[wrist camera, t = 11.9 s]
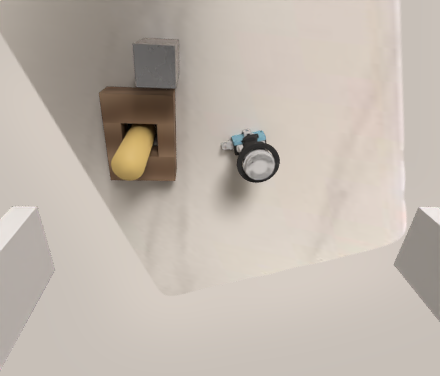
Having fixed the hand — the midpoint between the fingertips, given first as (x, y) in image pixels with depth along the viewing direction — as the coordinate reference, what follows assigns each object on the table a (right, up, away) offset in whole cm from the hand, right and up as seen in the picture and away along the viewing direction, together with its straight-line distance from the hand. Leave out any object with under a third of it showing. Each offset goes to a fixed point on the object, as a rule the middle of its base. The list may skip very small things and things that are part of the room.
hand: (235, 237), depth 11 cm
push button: (+3, +9, +35) cm, 37 cm away
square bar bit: (-8, +19, +29) cm, 35 cm away
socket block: (-11, +10, +33) cm, 37 cm away
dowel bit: (-12, +10, +33) cm, 37 cm away
